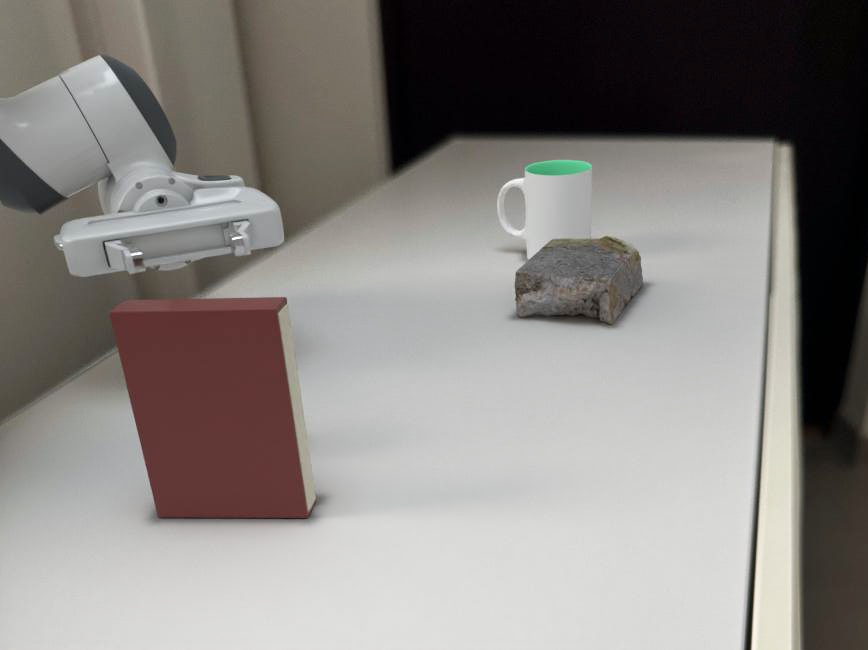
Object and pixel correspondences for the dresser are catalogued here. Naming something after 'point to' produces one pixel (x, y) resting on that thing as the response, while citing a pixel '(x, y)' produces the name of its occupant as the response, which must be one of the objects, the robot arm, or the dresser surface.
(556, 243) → the geological specimen
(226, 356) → the book
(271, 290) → the dresser surface
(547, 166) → the mug
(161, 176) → the robot arm
